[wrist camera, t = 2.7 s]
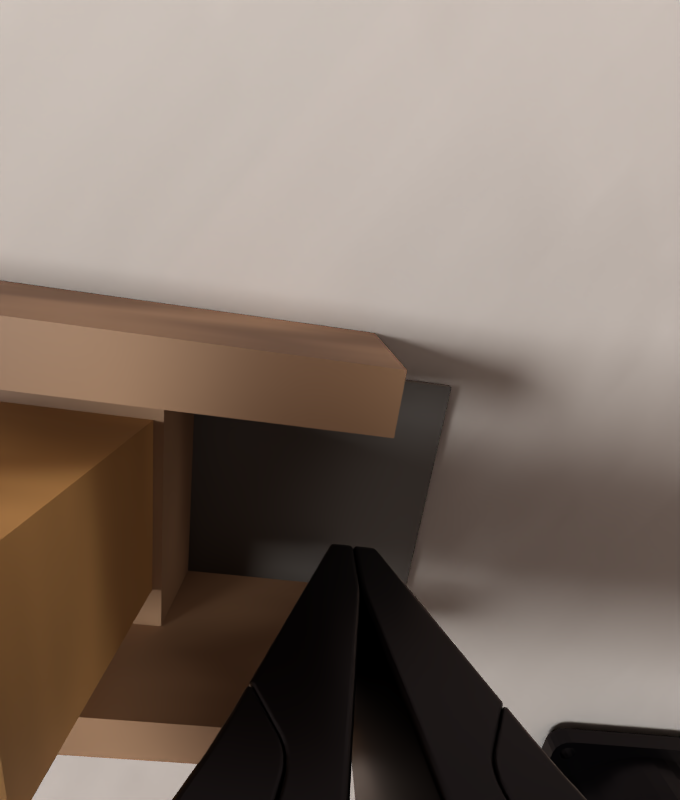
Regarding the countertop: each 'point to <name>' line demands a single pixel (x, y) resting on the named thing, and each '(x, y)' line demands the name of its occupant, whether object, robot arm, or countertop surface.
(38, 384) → the trough
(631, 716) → the countertop surface
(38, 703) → the block
